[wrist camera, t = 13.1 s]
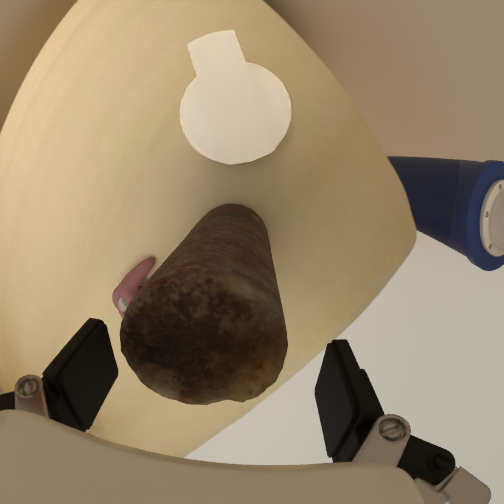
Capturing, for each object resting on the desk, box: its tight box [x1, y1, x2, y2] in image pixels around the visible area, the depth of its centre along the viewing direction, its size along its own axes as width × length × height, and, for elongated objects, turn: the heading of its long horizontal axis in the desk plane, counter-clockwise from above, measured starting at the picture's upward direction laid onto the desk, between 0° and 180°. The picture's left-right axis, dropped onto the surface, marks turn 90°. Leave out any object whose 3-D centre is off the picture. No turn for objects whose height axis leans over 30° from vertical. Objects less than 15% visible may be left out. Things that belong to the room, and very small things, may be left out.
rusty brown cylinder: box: [120, 204, 288, 405], centre depth 20 cm, size 8×7×20 cm
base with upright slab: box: [179, 30, 291, 165], centre depth 20 cm, size 9×9×12 cm
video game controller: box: [112, 258, 154, 318], centre depth 29 cm, size 10×5×7 cm, turn 38°
